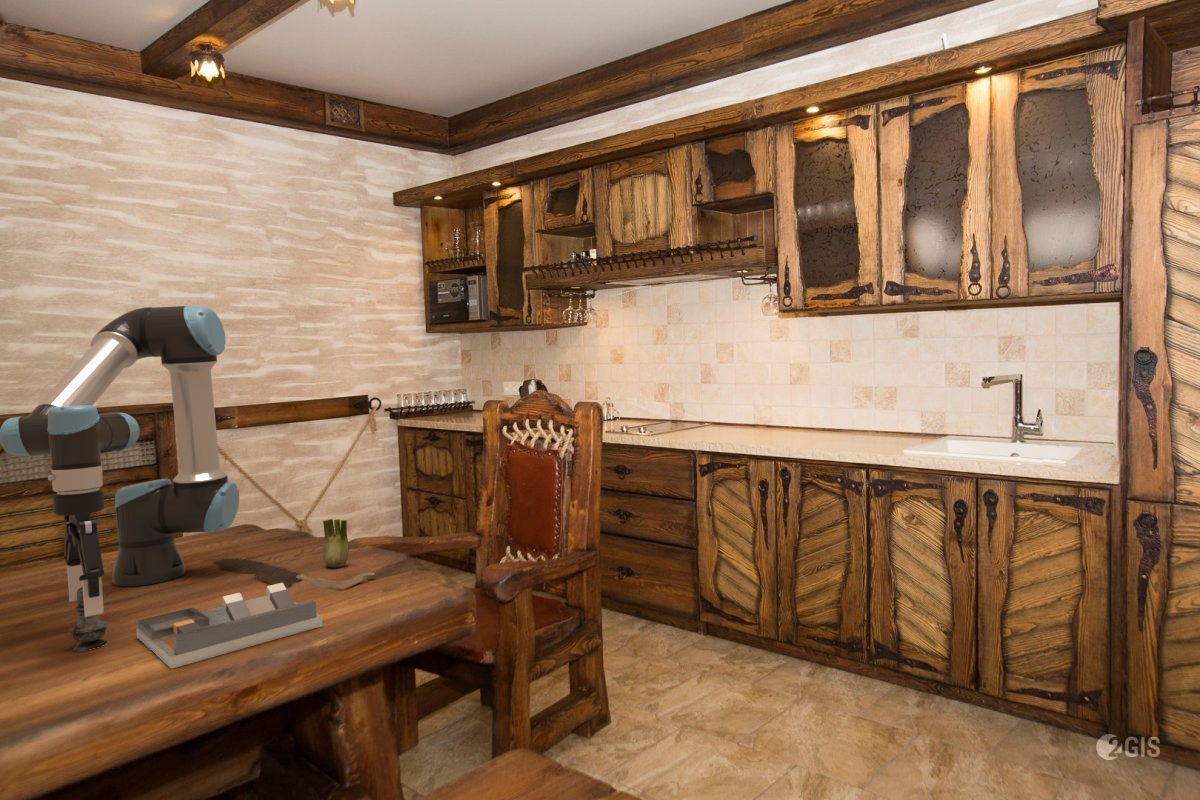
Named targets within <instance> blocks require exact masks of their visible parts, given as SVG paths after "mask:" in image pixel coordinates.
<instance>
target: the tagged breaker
mask: <svg viewBox="0 0 1200 800" xmlns="http://www.w3.org/2000/svg"><path fill="white" fill-rule="evenodd" d="M173 626H174V632H175V633H176V634H177V635H178V634H182V633H186V632H190V631H194V630H198V629H201V627H200V626H199V625H198V624H197V623H195V622H194V621H193V620H192V619H190V620H186V621H182V622H178V623H174V624H173Z"/></svg>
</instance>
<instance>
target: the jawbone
mask: <svg viewBox="0 0 1200 800" xmlns="http://www.w3.org/2000/svg"><path fill="white" fill-rule="evenodd" d="M374 575H377V574H376V573H375V572H362V573H360V574H356V575H355V576H354V577H352V578H349V579H345V580H341V581H337V580H332V579H331V580H330V579H329V580H328V579H324V578H322V577H318V578H310V577H309V576H306V575H305V574H303V573H300V574H297V575H296V576H295V578H296V579H298V580H302V581H305V582H308V583H309V584H310V585H312V586H313V587H316V588H321V589H330V590H334V591H345V590H348V589H350V588H352V587H353V586H355V585H358V584H365V583H364V582H367V583H368V581H369V580H368V577H370V576H374Z"/></svg>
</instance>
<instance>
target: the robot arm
mask: <svg viewBox="0 0 1200 800" xmlns="http://www.w3.org/2000/svg"><path fill="white" fill-rule="evenodd" d="M225 345H226V333H225V328H224V325H223V322H222V321H221V319H220V317H219V316H218V314H217V313H216V312H215V311H214V310H213V309H212V308H211V307H208V306H205V305H203V306H202V305H191V304H190V305H189V304H188V305H179V306H159V307H158V306H155V307H152V306H151V307H144V306H143V307H140V308H136V309H133V310H130V311H128V312H125V313H123V314H122V315H119V316H118V317H116V318H114V319H113V320H112V321H110V322H109V323H107V324H106V325H105V326H103V327H102V328H101V329H100V330H99V331H98V332H97V333H96V334H95V335H94V337H92V340H91V341H90V348H89V349H88V350H87V351H86V352H85V353H84V354H83V356H82V357H81V358H80V359H79V360H78V361H77V362H75V365H73V367H71V369H70V370H69V371H68V372H67V373H66V374H65V375H64V376H63V377H62V378H61V380H60V381H59V382H58V383H57V384H56V385H55V386H54V387H53V388H52V389H51V390H50V392H48V393H47V394H46V396H45V397H44V398H43V399H42V400H41V401H40V402H39V404H37V405H36V407H35V408H34V409H33V410H32V411H31V412H30V413H29V414H28V415H27V416H24V415H20V416H17V417H16V416H15V417H10V418H8V419H6V420H5V421H4V422H3V423H2V425H1V426H0V445H1V446H2V449H3V450H4V451H5V453H7V454H9V455H11V456H17V457H18V456H19V457H20V456H21V457H22V456H24V457H25V456H28V457H35V456H50V464H51V465H50V469H51V473H52V474H49V475H48V476H47V480H48V481H51V484H52V485H51V486H52V491H53V492H55V493H56V494H54V495H53V496H52V503H53V514H55V515H56V516H60V517H63V518H64V523H65V524H64V525H65V526H64V552H63V553H64V554H63V555H64V556H63V560H64V561H65V564H66V570H67V571H66V572H67V583H68V584H67V585H68V588H67V589H68V600H69V602H70V603H71V602H75V601H77V591H78V589H79V588H81V587H83V599H84V614H85V617H88V616H92V615H97V614H98V615H102V614H104V613H105V612H104V610H105V609H104V598H103V581H102V576H103V575H104V574H105V570H104V565H103V559H102V558H103V557H102V554H101V547H100V542H99V535H98V527H97V525H98V522H97V520H96V519H94V520H92V516H91V515H92V513H97V512H101V511H102V510H104V508H105V501H104V500H105V499H104V491H103V490H102V489H100V488H102V487H103V486H104V480H103V465H102V457H101V454H107V453H111V452H112V453H113V452H121V451H123V450H127V449H129V448H131V447H132V446H133V445H135V444H136V442H138V439H139V436H140V426H139V424H138V421H137V420H136V419H135V418H134V417H133V416H131V415H130V414H128V413H124V412H117V411H114V412H108V413H107V412H106V413H99V410H98V409H97V407H96V406H95V404H96V402H97V401H98V400H99V399H100V397H101V396H102V395H103V394H104V393H105V392H106V390H107V389H108V388H109V386H110V385H111V384H112V383H113V382H114V380H115V379H116V378H117V377H118V376H119V375H120V373H121V372H122V371H123V370H124V369H127V368H130V367H132V366H133V365H134V364H135V363H136V362H137V361H138V360H140V359H145V358H160V360H161V366H162V367H164V368H165V369H166V370H167V371H169V376H170V377H169V378H170V386H171V387H170V388H171V394H172V395H171V396H172V406H173V419H174V428H175V437H176V439H175V440H176V448H177V449H176V450H177V459H178V469H179V470H178V471H179V472H178V474H176V475H175V477H174V478H173V479H172V481H171V480H170V478H161V479H155V480H149V481H143V482H139V483H135V484H130V485H126V486H123V487H121V488H119V489H117V491H116V492H115V498H114V499H115V500H114V502H115V503H114V505H115V506H114V510H115V518H116V530H117V542H118V552H117V556H116V559H115V563H114V565H113V569H112V573H111V578H112V585H114V586H116V587H117V586H118V587H140V586H147V585H153V584H159V583H163V582H167V581H171V580H174V579H176V578H180V577H181V576H183V575H184V574H185V573H186V565H185V564H186V563H185V562H184V560H183V557H182V554H181V553H180V550H179V548H178V546H177V544H176V541H175V534H189V533H190V534H192V533H212V532H221V531H224V530H227V529H228V528H230V526H231V525H232V524H233V522H234V521H235V519H236V516H237V513H238V510H239V506H240V489H239V488H238V485H237V484H236V483H235V482H233V481H229V480H228V479H229V478H228V473H227V471H225V470H223V469H222V468H221V467H220V458H219V456H220V455H219V445H218V433H217V423H216V414H215V413H216V411H215V403H214V402H215V400H214V389H213V380H212V379H213V378H212V369H213V367H214V366H215V365H216V364H217V363H218V356H219V355H221V354H223V352H224V351H225V350H226V349H225V348H226V346H225Z"/></svg>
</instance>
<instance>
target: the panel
mask: <svg viewBox="0 0 1200 800" xmlns="http://www.w3.org/2000/svg"><path fill="white" fill-rule="evenodd" d="M244 602H245V604H246V606H247V607H248V609H249V611H250V613H251V615H252V616H248V617H244V618H241V619H237V620H233V621H231V620H230V618H229V616H228V614H227V612H226V610H225V608H224V606H223V605H221V606H218V607H213V608H209V609H206V610H201V611H199V610H198V609H196V608H194V607H190V608H189V607H188V608H185V609H180V610H176V611H173V612H168V613H164V614H159V615H155V616H152V617H147V618H146V617H145V618H142V619H138V620H137V621H136V623H137V625H136V626H135V627H136V628H135V631H136V638H137V639H138V640H139V641H140V642H141V641H142V642H141V643H142V644H143V643H144V644H143V645H145V646H146V647H147V649H149V650H150V651H151V650H152V651H153V652H154V653H155V654H156V655H155V654H154V653H153V652H152V651H151V652H152V653H153V654H154V655H155V656H157V658H159V659H160V660H161V661H162V663H164V664H165V665H167V666H168V668H169V669H171V670H172V669H176V668H179V667H180V668H181V667H183V666H186V665H191V664H194V663H197V662H200V661H205V660H208V659H211V658H215V657H218V656H222V655H226V654H229V653H233V652H235V651H240V650H243V649H248V648H250V647H253V646H257V645H261V644H265V643H268V642H271V641H274V640H280V639H283V638H285V637H289V636H292V635H296V634H300V633H303V632H307V631H310V630H311V631H312V630H314V629H317V628H321V627H323V615H320V614H319V613H317V601H315V600H307V601H304V602H300V603H299V602H298V603H297V602H296V601H293V602H294V603H295V605H291V606H287V607H284V608H280V609H276V610H275V608H274V606H273V604H272V602H271V601H270V599H269V597H268V595H267V594H266V595H263V596H259V597H255V598H251V599H245V600H244ZM190 619H192V620H193V621H194V622H195V623H197V624H198V625H199V626H200V627H201V629H198V630H194V631H190V632H186V633H182V634H178V635H177V634H176V633H175V632H174V626H173V624H174V623H178V622H182V621H186V620H190Z"/></svg>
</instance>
